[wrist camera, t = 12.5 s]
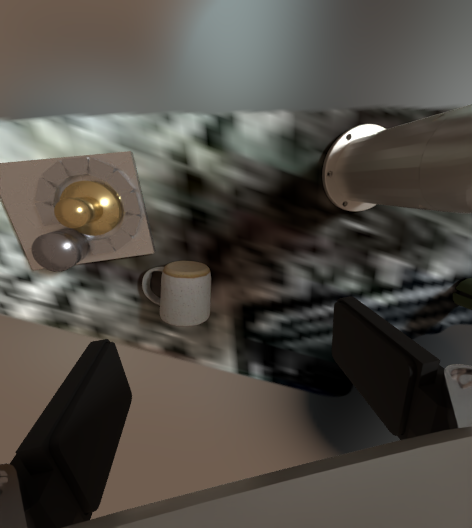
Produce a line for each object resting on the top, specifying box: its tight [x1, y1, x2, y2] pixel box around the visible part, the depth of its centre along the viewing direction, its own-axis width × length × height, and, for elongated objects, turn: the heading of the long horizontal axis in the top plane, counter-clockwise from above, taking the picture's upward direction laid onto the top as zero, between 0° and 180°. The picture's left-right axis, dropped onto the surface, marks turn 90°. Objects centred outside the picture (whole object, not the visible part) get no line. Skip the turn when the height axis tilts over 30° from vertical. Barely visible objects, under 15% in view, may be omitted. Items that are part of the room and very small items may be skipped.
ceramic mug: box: [142, 261, 211, 327], centre depth 35 cm, size 11×8×8 cm
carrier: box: [0, 151, 155, 272], centre depth 31 cm, size 17×14×5 cm
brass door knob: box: [54, 181, 122, 236], centre depth 29 cm, size 7×7×7 cm
